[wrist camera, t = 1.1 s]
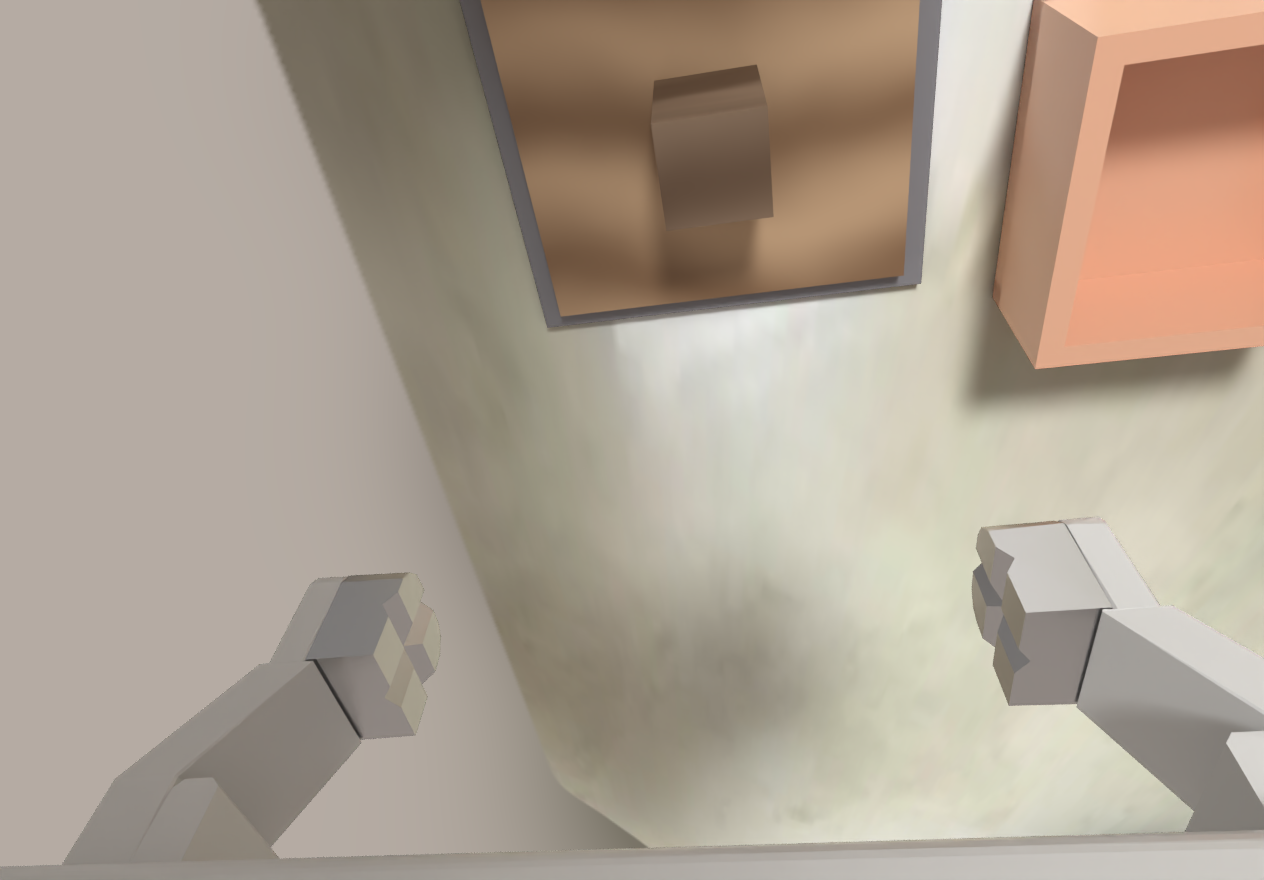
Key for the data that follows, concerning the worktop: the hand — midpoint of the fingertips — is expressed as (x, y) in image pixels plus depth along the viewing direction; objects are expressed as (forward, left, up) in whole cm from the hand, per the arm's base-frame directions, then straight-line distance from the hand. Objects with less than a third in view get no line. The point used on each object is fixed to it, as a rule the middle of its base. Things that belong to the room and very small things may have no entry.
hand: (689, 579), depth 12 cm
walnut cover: (+2, +1, -26) cm, 26 cm away
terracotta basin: (+6, +20, -27) cm, 34 cm away
